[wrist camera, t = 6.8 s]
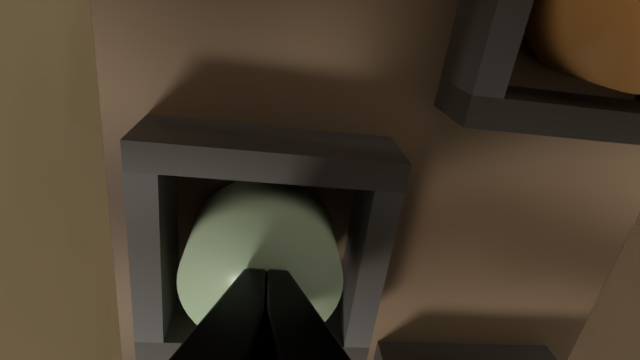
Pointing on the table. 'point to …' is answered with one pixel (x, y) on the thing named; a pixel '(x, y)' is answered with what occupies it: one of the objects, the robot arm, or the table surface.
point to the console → (371, 164)
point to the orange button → (589, 40)
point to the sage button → (260, 245)
